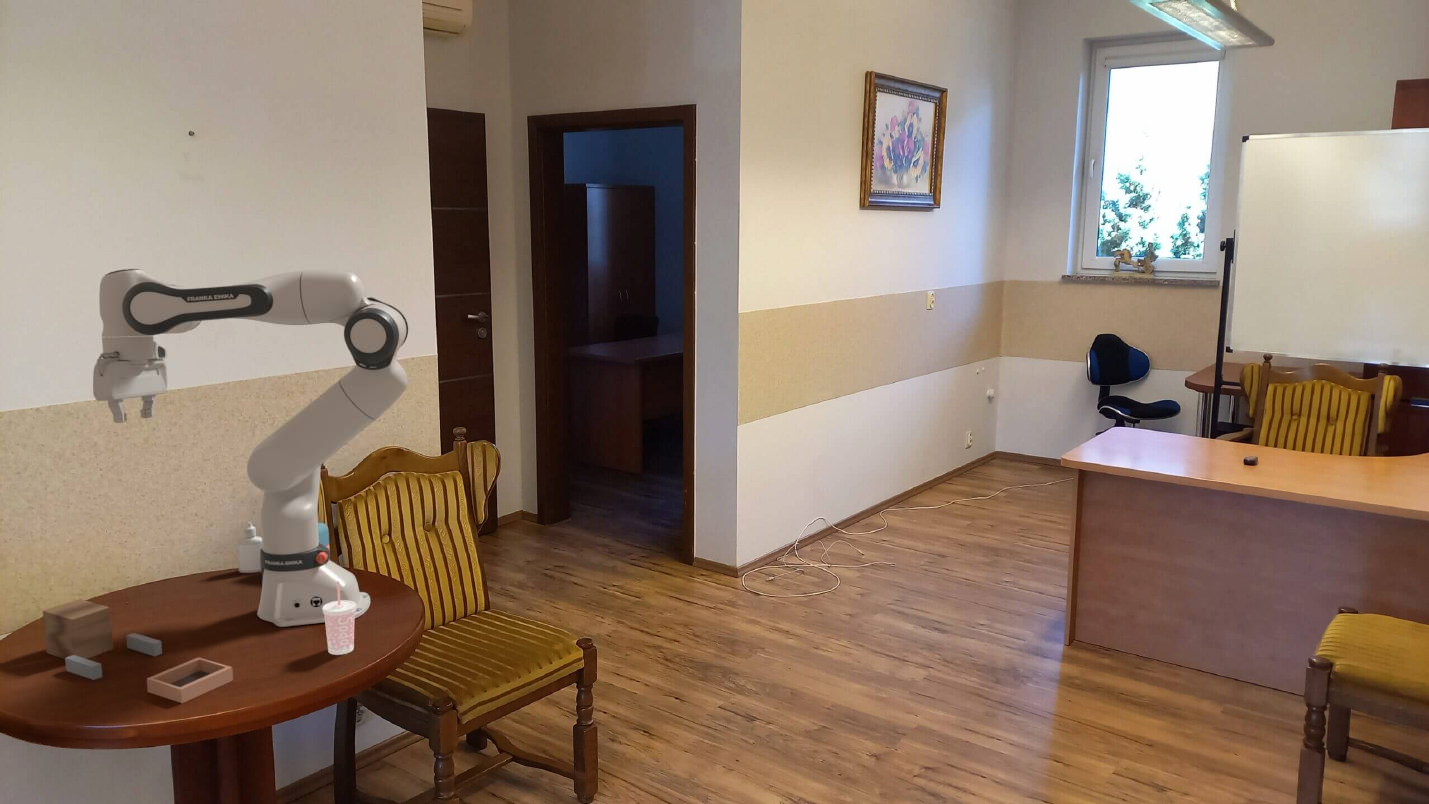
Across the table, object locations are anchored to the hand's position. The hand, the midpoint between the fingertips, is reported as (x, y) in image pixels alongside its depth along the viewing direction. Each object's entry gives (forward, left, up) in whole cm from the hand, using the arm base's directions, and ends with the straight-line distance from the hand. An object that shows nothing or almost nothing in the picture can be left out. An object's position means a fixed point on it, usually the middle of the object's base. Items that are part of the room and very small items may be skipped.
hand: (134, 420), depth 194 cm
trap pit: (-19, +33, -42) cm, 57 cm away
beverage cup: (-42, +20, -42) cm, 63 cm away
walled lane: (-2, +21, -42) cm, 47 cm away
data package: (-24, -27, -42) cm, 55 cm away
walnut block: (+7, +15, -42) cm, 45 cm away
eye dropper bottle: (-12, -29, -42) cm, 53 cm away
